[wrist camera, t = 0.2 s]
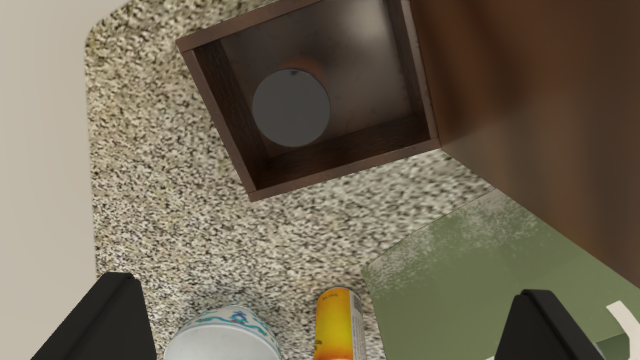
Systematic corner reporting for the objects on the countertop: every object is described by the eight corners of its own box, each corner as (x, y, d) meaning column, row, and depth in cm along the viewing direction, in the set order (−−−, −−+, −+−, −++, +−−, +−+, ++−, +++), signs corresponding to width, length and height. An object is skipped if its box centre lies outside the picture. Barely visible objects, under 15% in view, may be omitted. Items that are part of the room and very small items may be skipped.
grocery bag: (417, 328, 53) (471, 539, 32) (357, 267, 49) (376, 466, 28) (648, 204, 44) (937, 392, 23) (600, 114, 39) (903, 245, 18)
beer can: (307, 300, 52) (298, 406, 38) (339, 276, 50) (342, 379, 36) (338, 323, 53) (340, 433, 40) (370, 301, 51) (383, 409, 38)
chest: (266, 164, 43) (251, 202, 35) (209, 31, 37) (174, 40, 29) (422, 116, 40) (444, 146, 32) (387, -37, 34) (404, -48, 26)
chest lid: (655, 301, 14) (675, 294, 14) (684, -195, 8) (719, -208, 8) (441, 150, 31) (451, 147, 31) (400, -47, 25) (411, -51, 25)
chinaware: (276, 275, 50) (266, 319, 43) (298, 353, 56) (293, 403, 49) (169, 287, 51) (144, 333, 44) (203, 362, 58) (185, 412, 51)
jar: (297, 38, 36) (285, 51, 27) (343, 81, 38) (347, 106, 29) (258, 86, 38) (236, 113, 29) (304, 124, 40) (296, 161, 31)
